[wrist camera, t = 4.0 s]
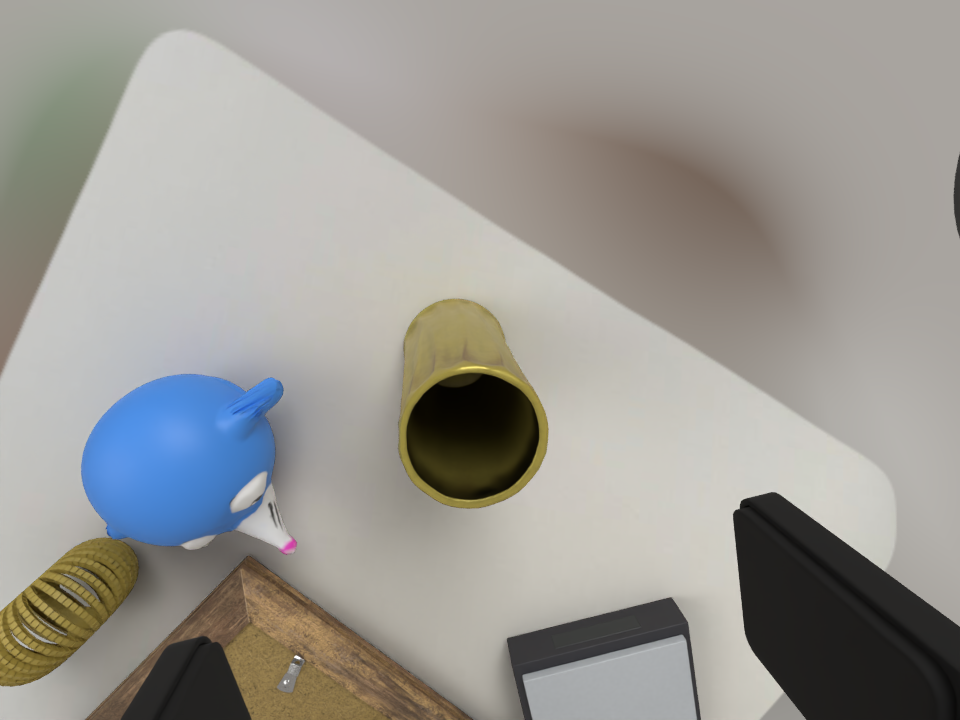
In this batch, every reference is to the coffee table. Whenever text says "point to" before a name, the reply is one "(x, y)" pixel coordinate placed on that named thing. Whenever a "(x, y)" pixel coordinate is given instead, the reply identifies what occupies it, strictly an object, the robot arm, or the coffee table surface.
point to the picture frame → (292, 658)
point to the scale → (609, 667)
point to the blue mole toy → (186, 463)
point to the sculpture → (64, 609)
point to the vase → (467, 409)
